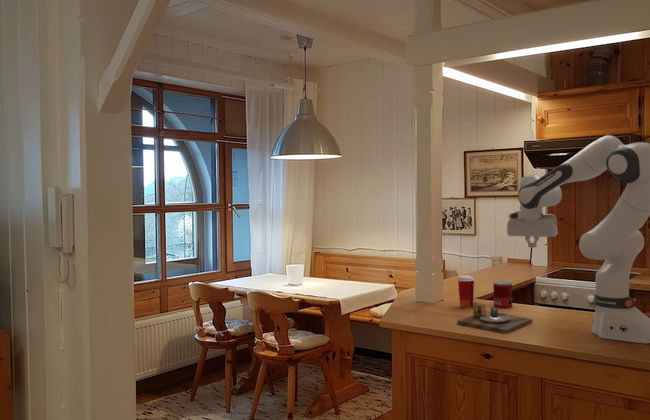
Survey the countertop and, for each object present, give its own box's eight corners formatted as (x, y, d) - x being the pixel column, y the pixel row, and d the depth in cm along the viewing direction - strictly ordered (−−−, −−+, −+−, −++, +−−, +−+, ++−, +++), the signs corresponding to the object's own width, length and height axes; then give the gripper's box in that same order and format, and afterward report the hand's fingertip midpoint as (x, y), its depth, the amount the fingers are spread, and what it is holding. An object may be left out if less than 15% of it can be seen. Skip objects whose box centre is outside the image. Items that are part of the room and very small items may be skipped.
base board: (532, 322, 233) (532, 303, 232) (506, 333, 220) (505, 313, 219) (484, 314, 249) (483, 295, 249) (457, 324, 236) (456, 304, 235)
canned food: (513, 308, 257) (512, 284, 256) (494, 308, 258) (494, 284, 258) (511, 304, 264) (510, 280, 264) (493, 304, 266) (492, 280, 265)
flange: (515, 318, 234) (515, 305, 234) (500, 324, 226) (499, 311, 225) (483, 312, 245) (482, 300, 245) (467, 318, 237) (466, 306, 236)
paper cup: (469, 304, 268) (468, 274, 267) (478, 308, 260) (477, 277, 259) (454, 306, 265) (453, 276, 264) (463, 310, 258) (462, 279, 257)
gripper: (559, 213, 236) (560, 247, 237) (510, 213, 250) (512, 245, 250) (553, 214, 231) (555, 249, 232) (504, 214, 245) (506, 247, 245)
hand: (532, 247), depth 241 cm, fingers closed
